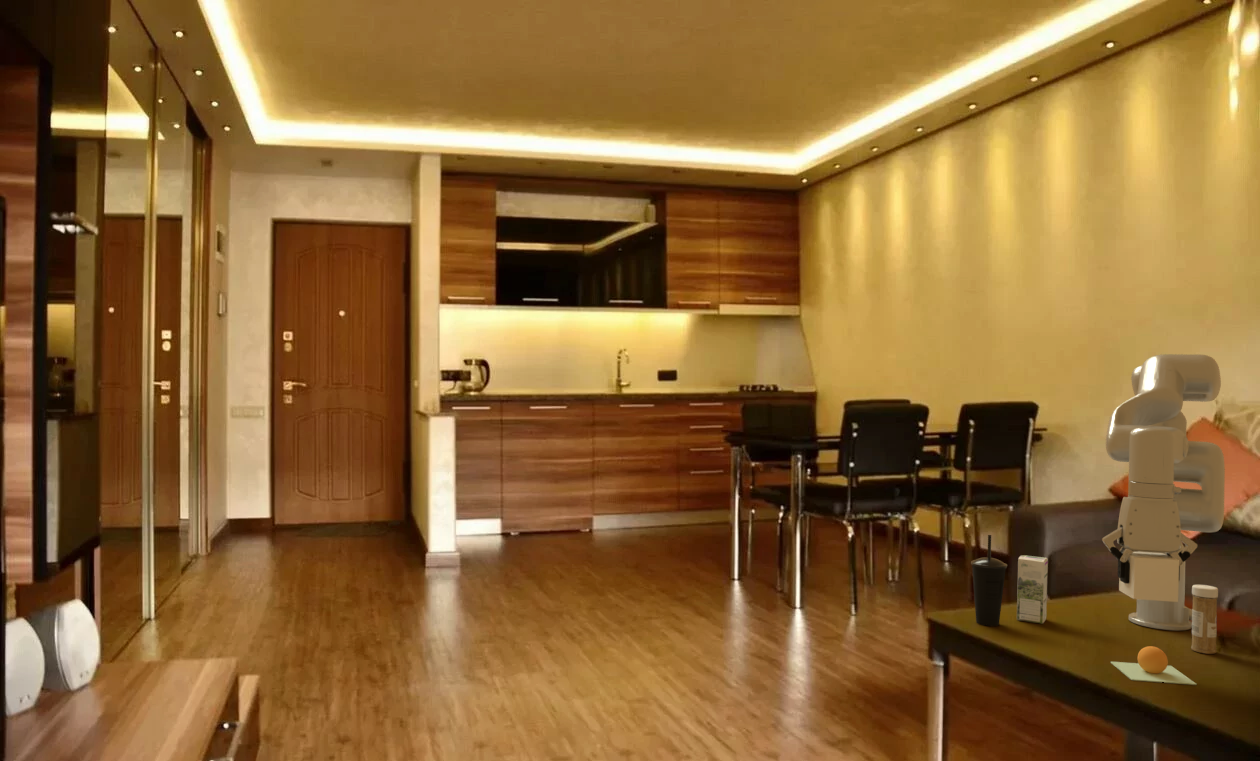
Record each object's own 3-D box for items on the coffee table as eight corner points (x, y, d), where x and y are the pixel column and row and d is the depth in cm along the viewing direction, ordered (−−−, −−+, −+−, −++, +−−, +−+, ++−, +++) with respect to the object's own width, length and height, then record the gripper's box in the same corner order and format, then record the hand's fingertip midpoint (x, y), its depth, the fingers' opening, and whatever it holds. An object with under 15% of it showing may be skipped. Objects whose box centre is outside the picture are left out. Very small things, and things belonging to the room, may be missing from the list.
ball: (1175, 664, 169) (1167, 679, 172) (1166, 641, 173) (1158, 656, 176) (1146, 663, 170) (1138, 678, 173) (1137, 640, 173) (1131, 655, 176)
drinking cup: (999, 619, 210) (1001, 533, 210) (1010, 628, 203) (1012, 538, 203) (965, 618, 211) (967, 531, 211) (974, 626, 203) (977, 537, 203)
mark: (1171, 666, 177) (1171, 665, 177) (1196, 685, 166) (1196, 683, 166) (1110, 662, 179) (1110, 661, 179) (1131, 680, 168) (1131, 679, 168)
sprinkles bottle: (1219, 655, 186) (1221, 589, 186) (1194, 653, 187) (1195, 587, 187) (1212, 649, 190) (1214, 585, 190) (1187, 647, 191) (1189, 583, 191)
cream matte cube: (1161, 593, 178) (1162, 553, 178) (1178, 601, 170) (1179, 560, 171) (1119, 590, 179) (1120, 550, 179) (1133, 598, 172) (1134, 557, 172)
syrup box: (1046, 619, 212) (1048, 557, 212) (1042, 624, 207) (1044, 560, 207) (1020, 615, 215) (1022, 553, 215) (1016, 620, 210) (1017, 557, 210)
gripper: (1191, 492, 177) (1189, 582, 177) (1095, 487, 180) (1093, 576, 180) (1208, 496, 170) (1206, 590, 170) (1108, 491, 173) (1106, 584, 173)
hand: (1148, 583), depth 175 cm, fingers closed on cream matte cube, 7 cm apart
